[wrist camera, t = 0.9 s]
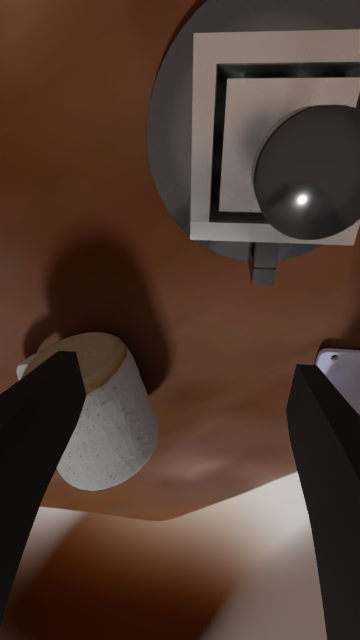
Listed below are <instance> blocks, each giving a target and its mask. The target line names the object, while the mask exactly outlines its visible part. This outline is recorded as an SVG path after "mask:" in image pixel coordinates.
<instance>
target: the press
mask: <svg viewBox="0 0 360 640" xmlns="http://www.w3.org/2000/svg"><path fill="white" fill-rule="evenodd" d="M350 77H360V0H207V1H206V2H205V3H204V4H203V5H202V6H201V7H200V8H199V9H198V10H197V11H196V12H195V13H194V14H193V15H192V17H191V18H190V19H189V20H188V21H187V23H186V24H185V25H184V26H183V27H182V29H181V31H180V32H179V34H178V35H177V37H176V38H175V40H174V41H173V43H172V44H171V46H170V48H169V50H168V52H167V54H166V56H165V58H164V60H163V62H162V64H161V67H160V70H159V72H158V75H157V78H156V81H155V84H154V87H153V91H152V96H151V100H150V104H149V112H148V120H147V148H148V157H149V163H150V168H151V172H152V177H153V180H154V182H155V185H156V188H157V191H158V193H159V195H160V197H161V199H162V201H163V203H164V205H165V207H166V208H167V210H168V211H169V213H170V215H171V216H172V218H173V219H174V220H175V221H176V222H177V224H178V225H179V226H180V227H181V228H182V229H183V230H184V231H185V232H186V233H187V234H188V235H189V236H190V240H195V241H197V242H198V243H200V244H201V245H203V246H204V247H206V248H208V249H210V250H212V251H214V252H216V253H218V254H221V255H224V256H227V257H230V258H234V259H239V260H244V261H248V264H249V270H250V276H251V282H252V284H263V285H273V282H274V276H275V270H276V263H277V260H282V259H287V258H291V257H295V256H298V255H301V254H304V253H306V252H309V251H311V250H314V249H315V248H317V247H319V246H321V245H323V244H327V245H354V242H355V238H356V235H357V232H358V228H359V225H360V220H358V221H357V222H356V223H355V224H353V225H352V226H350V227H349V228H347V229H346V230H344V231H342V232H340V233H338V234H336V235H333V236H330V237H327V238H323V239H317V240H300V239H295V238H291V237H289V236H286V235H284V234H282V233H280V232H279V231H277V230H276V229H275V228H273V227H272V226H271V225H270V224H269V223H268V221H267V220H266V219H265V217H264V216H263V214H262V212H227V211H219V201H220V185H221V169H222V153H223V137H224V121H225V105H226V89H227V79H245V78H350ZM356 108H357V109H359V110H360V92H359V96H358V100H357V105H356Z"/></svg>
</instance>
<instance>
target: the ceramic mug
mask: <svg viewBox="0 0 360 640" xmlns="http://www.w3.org/2000/svg"><path fill="white" fill-rule="evenodd" d="M58 351H73V352H76V354H77V358H78V362H79V366H80V370H81V374H82V378H83V382H84V387H85V391H86V395H87V396H86V399H85V402H84V405H83V409H82V412H81V415H80V418H79V421H78V423H77V425H76V428H75V430H74V432H73V434H72V436H71V438H70V441H69V443H68V445H67V447H66V449H65V451H64V453H63V455H62V457H61V459H60V462H59V464H58V466H57V469H58V471H59V473H60V474H61V476H62V477H63V479H64V480H65V481H66V482H68V483H69V484H71V485H72V486H74V487H77V488H79V489H82V490H93V491H95V490H101V489H106V488H109V487H113V486H115V485H118V484H120V483H122V482H124V481H125V480H127V479H129V478H130V477H131V476H133V475H134V474H135V473H136V472H138V471H139V470H140V469H141V468H142V467H143V466H144V465H145V464H146V462H147V461H148V460H149V458H150V457H151V455H152V453H153V451H154V449H155V447H156V444H157V440H158V435H159V426H158V420H157V418H156V415H155V413H154V410H153V408H152V405H151V402H150V400H149V397H148V394H147V392H146V389H145V387H144V385H143V382H142V380H141V377H140V374H139V371H138V368H137V365H136V363H135V360H134V358H133V356H132V354H131V353H130V351H129V349H128V348H127V346H126V345H125V344H124V343H123V341H122V340H121V339H120V338H118V337H116V336H114V335H111V334H108V333H103V332H88V333H82V334H78V335H74V336H71V337H68V338H65V339H63V340H61V341H59V342H57V343H55V344H53V345H51V346H49V347H48V348H46V349H45V350H44V351H42V352H41V353H36V354H33V355H31V356H30V357H28V358H27V359H25V360H24V361H23V362H22V363H21V364H19V365H18V367H17V376H18V380H20V379H22V378H23V377H24V376H26V375H27V374H28V373H30V372H31V371H32V370H34V369H35V368H36V367H37V366H39V365H40V364H41V363H43V362H44V361H45V360H47V359H48V358H49V357H51V356H52V355H53V354H55V353H56V352H58Z"/></svg>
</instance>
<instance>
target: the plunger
mask: <svg viewBox="0 0 360 640" xmlns="http://www.w3.org/2000/svg"><path fill="white" fill-rule="evenodd" d="M359 92H360V77H350V78H245V79H227V89H226V105H225V121H224V137H223V153H222V169H221V185H220V201H219V211H227V212H262V214H263V216H264V217H265V219H266V220H267V221H268V223H269V224H270V225H271V226H272V227H273V228H275V229H276V230H277V231H279V232H280V233H282V234H284V235H286V236H289V237H291V238H295V239H300V240H317V239H323V238H327V237H330V236H333V235H336V234H338V233H340V232H342V231H344V230H346V229H347V228H349V227H350V226H352V225H353V224H355V223H356V222H357V221H358V220H360V110H359V109H357V108H356V105H357V100H358V96H359Z"/></svg>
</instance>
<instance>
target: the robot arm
mask: <svg viewBox="0 0 360 640" xmlns="http://www.w3.org/2000/svg"><path fill="white" fill-rule="evenodd" d="M333 355H337V356H335V357H332V356H333ZM86 396H87V395H86V391H85V387H84V382H83V378H82V374H81V370H80V366H79V362H78V358H77V354H76V352H73V351H58V352H56V353H55V354H53V355H52V356H51V357H49V358H48V359H47V360H45V361H44V362H43V363H41V364H40V365H39V366H37V367H36V368H35V369H34V370H32V371H31V372H30V373H28V374H27V375H26V376H24V377H23V378H22V379H20V380H19V381H18V382H16V383H15V384H14V385H12V386H11V387H10V388H9V389H7V390H6V391H4V392H3V393H2V394H0V625H1V622H2V618H3V615H4V611H5V607H6V605H7V601H8V598H9V595H10V592H11V588H12V585H13V582H14V579H15V575H16V573H17V569H18V566H19V563H20V560H21V557H22V554H23V551H24V548H25V546H26V543H27V540H28V537H29V533H30V531H31V528H32V526H33V523H34V520H35V517H36V515H37V512H38V509H39V506H40V504H41V501H42V498H43V496H44V494H45V492H46V489H47V487H48V485H49V483H50V480H51V478H52V476H53V474H54V472H55V470H56V468H57V466H58V464H59V462H60V459H61V457H62V455H63V453H64V451H65V449H66V447H67V445H68V443H69V441H70V438H71V436H72V434H73V432H74V430H75V428H76V425H77V423H78V421H79V418H80V415H81V412H82V409H83V405H84V402H85V399H86ZM286 413H287V421H288V429H289V437H290V442H291V446H292V450H293V454H294V458H295V462H296V466H297V470H298V474H299V478H300V482H301V486H302V490H303V494H304V498H305V502H306V506H307V510H308V514H309V519H310V524H311V528H312V535H313V541H314V547H315V554H316V560H317V567H318V573H319V581H320V587H321V595H322V602H323V609H324V617H325V625H326V633H327V640H360V350H348V349H332V348H325V349H322V350H320V351H319V353H318V356H317V359H316V362H315V365H301V364H297V365H296V370H295V374H294V378H293V382H292V387H291V391H290V395H289V399H288V404H287V408H286Z"/></svg>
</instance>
